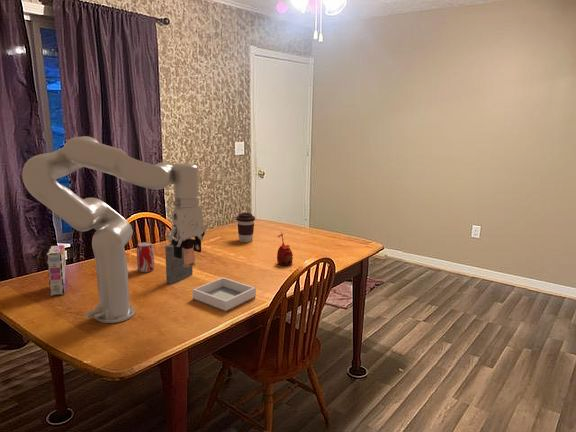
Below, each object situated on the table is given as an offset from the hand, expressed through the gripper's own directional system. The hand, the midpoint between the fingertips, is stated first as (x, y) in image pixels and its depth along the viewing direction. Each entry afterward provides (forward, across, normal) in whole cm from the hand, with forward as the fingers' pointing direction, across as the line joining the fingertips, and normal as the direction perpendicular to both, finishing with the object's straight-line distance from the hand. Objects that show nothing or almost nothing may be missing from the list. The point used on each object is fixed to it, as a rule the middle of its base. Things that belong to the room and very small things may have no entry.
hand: (187, 254), depth 144 cm
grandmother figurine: (+4, 0, 0) cm, 4 cm away
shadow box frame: (+22, +17, 0) cm, 27 cm away
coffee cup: (+22, +79, +44) cm, 93 cm away
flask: (+22, +20, +28) cm, 41 cm away
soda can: (+22, +17, +47) cm, 54 cm away
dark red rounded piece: (+22, +63, +6) cm, 67 cm away
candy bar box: (+22, -17, +54) cm, 61 cm away
